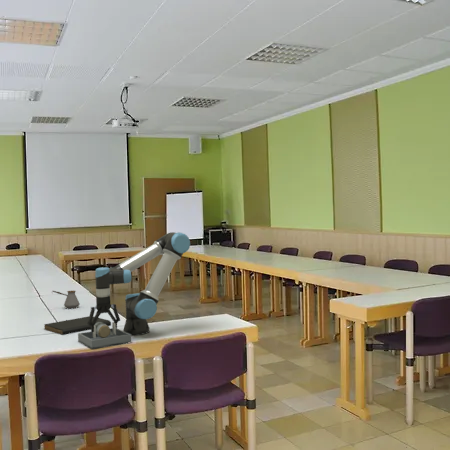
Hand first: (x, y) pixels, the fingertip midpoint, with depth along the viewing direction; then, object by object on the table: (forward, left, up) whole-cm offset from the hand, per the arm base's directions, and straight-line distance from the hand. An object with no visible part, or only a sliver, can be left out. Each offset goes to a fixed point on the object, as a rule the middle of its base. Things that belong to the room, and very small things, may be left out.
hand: (104, 336), depth 286 cm
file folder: (-1, -48, -4) cm, 48 cm away
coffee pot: (-16, -122, -4) cm, 123 cm away
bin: (0, 0, -3) cm, 3 cm away
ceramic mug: (0, 0, -1) cm, 1 cm away
